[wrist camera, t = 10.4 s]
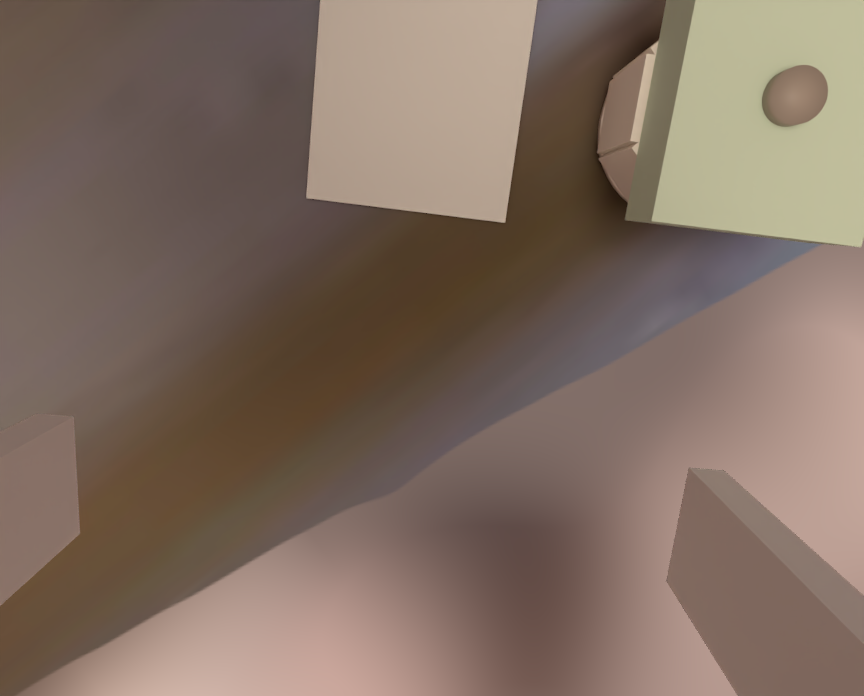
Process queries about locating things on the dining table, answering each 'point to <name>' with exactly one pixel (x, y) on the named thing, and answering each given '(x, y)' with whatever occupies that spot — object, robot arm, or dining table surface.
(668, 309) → the dining table surface
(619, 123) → the bowl
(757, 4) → the lid
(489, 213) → the mat
